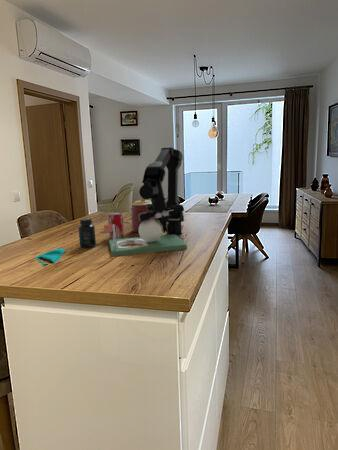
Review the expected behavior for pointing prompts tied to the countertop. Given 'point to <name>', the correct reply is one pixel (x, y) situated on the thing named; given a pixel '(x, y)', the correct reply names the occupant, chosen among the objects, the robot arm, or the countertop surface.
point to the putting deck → (143, 244)
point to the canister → (138, 209)
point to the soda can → (116, 225)
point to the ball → (150, 230)
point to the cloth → (51, 255)
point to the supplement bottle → (87, 234)
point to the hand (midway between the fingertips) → (165, 232)
